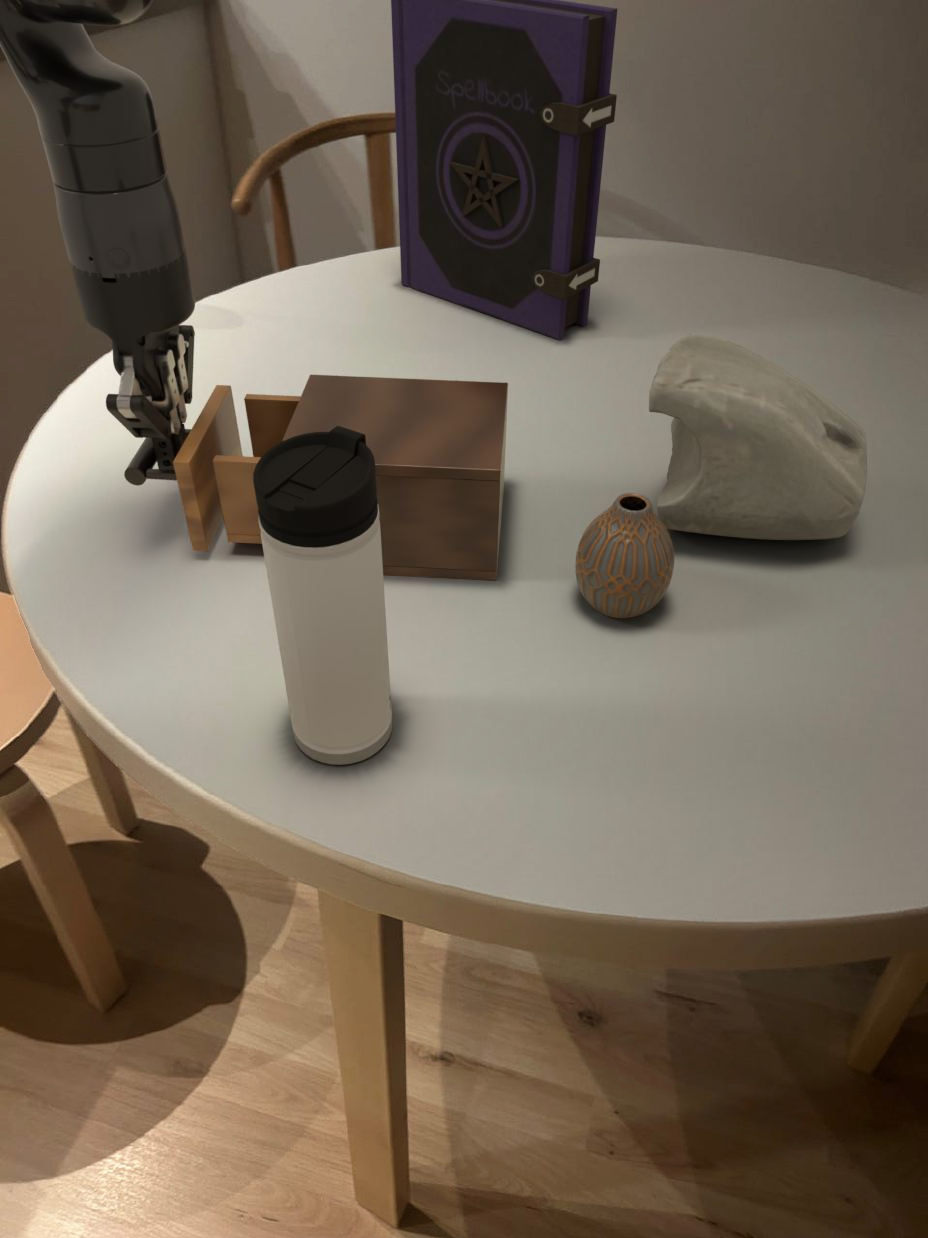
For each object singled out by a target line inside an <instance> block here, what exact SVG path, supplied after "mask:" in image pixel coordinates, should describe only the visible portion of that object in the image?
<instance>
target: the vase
mask: <svg viewBox="0 0 928 1238" xmlns="http://www.w3.org/2000/svg"><path fill="white" fill-rule="evenodd" d="M674 568H675V550H674V544H673V541H672V538H671V535H670V533H669V531H668V529H666V527H665V526H664V524H663V523H662V522H661V520H660V518H659V516H658V515H657V514H656V512H655V511H654V508H653V505H652V503H651V501H650V499H649V498H648V497H647V496H645V495H643V494H640V493H636V492H627V493H623V494H620V495H619V496H617V497H616V498H615V500H614V501H613V503H612V504H611V506H609V507H608V508H606V510H604V511H602V512H601V513H600V514H598V515H597V516H596V517H595V518H594V519H593V520H592V521H591V522H590V523H589V524H588V526H587V527H586V528H585V530H584V532H583V533H582V536H581V538H580V540H579V543H578V546H577V549H576V555H575V577H576V582H577V585H578V589H579V591H580V593H581V595H582V597H583V598H584V599H585V601H586V602H587V603H588V604H589V605H590V606H591V607H592V608H593V609H595V610H596V611H597V612H599V613H601V614H603V615H605V616H607V617H609V618H613V619H631V618H635V617H638V616H641V615H644V614H645V613H647V612H648V611H650V610H651V609H653V608H654V607H655V606H657V604H658V603H659V602H660V601H661V600H662V598H663V597H664V595H665V594H666V593H667V590H668V588H669V587H670V584H671V580H672V577H673V573H674V570H675V569H674Z"/></svg>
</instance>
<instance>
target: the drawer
mask: <svg viewBox="0 0 928 1238" xmlns="http://www.w3.org/2000/svg"><path fill="white" fill-rule="evenodd" d="M300 398H301V395H281V394H280V395H279V394H256V393H246V394H245V395H244V398H243V400H244V406H245V412H246V413H245V414H246V419H247V425H248V432H249V438H250V445H251V449H252V450H251V451H252V456H245V455H244V454H243V450H242V449H243V447H242V443H241V437H240V432H239V426H238V425H239V424H238V419H237V413H236V408H235V402H234V401H235V400H234V396H233V390H232V385H230V384H229V385H227V384H216V385H215V387H214V388H213V391H212V392H211V394H210V396H209V398H208V399H207V401H206V403H205V405H204V407H203V408H202V410H201V412H200V414H199V415H198V417H197V418H196V420H195V422H194V424H193V425H192V428H185V431H186V436H187V438H186V440H185V442H184V443H183V445H182V447H181V449H180V450H179V452H178V454H177V456H176V457H175V459H174V461H173V464H174V469H175V470H165V469H159V468H154V467H155V465H156V464H157V459H156V456H155V451H154V447H153V443H152V439H151V438H147V437H144V440H143V442H142V443H141V445H140V446H139V448H138V449H137V451H136V453H135V454H134V455H133V457H132V459H131V461H130V462H129V463H128V466H127V467H126V469H125V470H124V473H123V475H124V479H125V480H126V481H127V482H128V483H129V484H130V485H133V486H137V487H138V486H142V485H144V484H145V483H146V481H147V480H161V481H176V482H177V487H178V491H179V495H180V500H181V504H182V509H183V513H184V517H185V521H186V526H187V531H188V534H189V535H188V536H189V539H190V544H191V549H192V551H198V552H199V551H200V552H208V551H209V549H210V547H211V545H212V543H213V541H214V538H215V536H216V534H217V532H218V530H219V528H220V525H221V523H222V520H223V522H224V528H225V530H226V538H227V542H228V543H239V544H259V545H262V539H261V529H260V527H259V514H258V505H257V502H256V495H255V489H254V483H253V473H254V470H255V466H256V465H257V463H258V462H259V460H260V458H261V457H262V456H263V455H264V454H265V453H266V452H267V451H268V450H270V449H271V448H272V447H274V446H275V445H277V444H279V443H281V442H282V441H283V438H284V436H285V433H286V431H287V429H288V426H289V424H290V421H291V419H292V417H293V414H294V412H295V410H296V407H297V405H298V402H299V400H300Z"/></svg>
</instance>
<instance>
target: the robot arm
mask: <svg viewBox="0 0 928 1238" xmlns="http://www.w3.org/2000/svg"><path fill="white" fill-rule="evenodd" d="M153 2H154V0H0V48H1V51H2V52H3V54H4V56H5V58H6V60H7V62H8V64H9V66H10V68H11V70H12V72H13V75H14V76H15V77H16V79H17V82H18V84H19V85H20V87H21V88H22V89H21V90H23V92H24V94H25V95H26V98H27V99H28V101H29V103H30V105H31V107H32V110H33V112H34V114H35V118H36V121H37V126H38V131H39V134H40V139H41V142H42V146H43V149H44V152H45V156H46V160H47V164H48V167H49V172H50V175H51V176H50V177H51V180H52V184H53V190H54V195H55V202H56V211H57V217H58V222H59V226H60V230H61V235H62V239H63V242H64V246H65V249H66V254H67V257H68V262H69V264H70V269H71V273H72V277H73V280H74V284H75V287H76V288H75V289H76V291H77V296H78V299H79V303H80V307H81V310H82V314H83V317H84V319H85V321H86V322H87V324H88V325H89V326H91V328H93V329H95V330H97V331H99V332H101V333H103V334H104V335H106V336H107V337H108V338H109V339H110V341H111V347H112V362H113V368H114V370H115V371H116V373H117V374H118V376H120V381H119V386H118V393H108V394H107V395H106V397H105V407H106V409H107V411H108V412H109V413H110V414H111V415H112V416H113V417H114V419H116V420H117V421H118V422H119V423H120V424H121V425H122V426H123V427H124V428H125V429H126V431H128V432H129V433H130V434H131V435H132V436H133V437H134V438H135V439H136V438H137V439H143V438H146V437H147V438H151V439H152V443H153V447H154V451H155V456H156V459H157V462H156V464H157V469H165V470H175V469H174V464H173V461H174V459H175V457H176V456H177V454H178V452H179V450H180V449H181V447H182V445H183V443H184V442H185V440H186V438H187V436H186V431H185V429H186V426H185V423H186V422H187V418H188V412H187V406H186V405H190V404H192V402H193V401H192V400H193V383H194V381H193V380H194V357H195V356H194V355H195V335H196V332H195V329H194V326H193V325H192V324H191V325H190V324H183V323H184V322H186V321H187V320H188V319H189V318H190V317H191V316H192V315H193V313H194V311H195V308H196V300H195V295H194V287H193V283H192V278H191V273H190V267H189V262H188V261H189V260H188V255H187V250H186V245H185V241H184V235H183V229H182V223H181V218H180V214H179V213H180V212H179V209H178V206H177V201H176V198H175V195H174V192H173V189H172V186H171V182H170V180H169V179H170V178H169V174H168V171H167V165H166V160H165V159H166V158H165V152H164V148H163V142H162V137H161V132H160V127H159V122H158V116H157V112H156V107H155V103H154V100H153V96H152V92H151V90H150V88H149V86H148V84H147V83H146V81H145V80H144V78H142V77H141V76H140V75H139V74H138V73H136V72H134V71H133V70H131V69H129V68H127V67H124V66H122V65H120V64H118V63H115V62H113V61H111V60H110V59H108V58H107V57H105V56H103V55H102V54H101V53H100V52H99V51H98V50H97V49H96V48H95V46H94V44H93V42H92V40H91V39H90V37H89V36H90V35H89V34H88V32H87V31H86V29H85V27H84V25H89V26H96V27H97V26H98V27H119V26H120V27H121V26H126V25H129V24H132V23H134V22H136V21H138V20H139V19H141V18H142V17H143V16H144V15H145V14H146V13H147V12H148V11H149V9H150V7H151V6H152V4H153Z"/></svg>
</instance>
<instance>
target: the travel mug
mask: <svg viewBox="0 0 928 1238" xmlns="http://www.w3.org/2000/svg"><path fill="white" fill-rule="evenodd" d="M253 483H254V489H255V495H256V502H257V505H258V514H259V527H260V529H261V539H262V544H261V545H262V550H263V557H264V562H265V570H266V575H267V581H268V587H269V593H270V600H271V604H272V612H273V616H274V618H273V619H274V624H275V630H276V636H277V642H278V647H279V648H278V649H279V654H280V660H281V666H282V671H283V672H282V673H283V678H284V685H285V690H286V697H287V698H286V699H287V703H288V708H289V715H290V719H291V728H292V734H293V737H294V742H295V743H296V745H297V746H298V748H299V750H301V752H303V754H305V755H306V756H307V757H309V758H311V759H312V760H315V761H317V762H319V763H323V764H327V765H336V766H337V765H339V766H342V765H351V764H355V763H358V762H362V761H364V760H366V759H369V758H370V757H372V756H373V755H375V754H377V753H378V752H379V751H380V750H381V749H382V748H383V747H384V746H385V745H386V743H387V742H388V740H389V739H390V737H391V734H392V732H393V731H392V730H393V712H392V711H393V710H392V695H391V693H392V691H391V679H390V677H391V676H390V662H389V661H390V660H389V647H388V645H389V643H388V631H387V629H388V628H387V613H386V600H385V599H386V598H385V597H386V595H385V584H384V583H385V581H384V575H383V564H382V548H381V532H380V521H379V517H380V515H379V506H378V502H377V485H376V469H375V460H374V456H373V454H372V452H371V450H370V449H369V448H368V447H367V446H366V437H365V434H362V433H359V432H356V431H353V430H350V429H347V428H344V427H341V426H336V427H335V428H333V429H332V430H331V431H330V432H313V433H306V434H302V435H298V436H294V437H292V438H289V439H287V440H284V441H282V442H281V443H279V444H277V445H275V446H274V447H272V448H271V449H270V450H268V451H267V452H266V453H265V454H264V455H263V456H262V457H261V458H260V460H259V462H258V463H257V465H256V466H255V470H254V473H253Z"/></svg>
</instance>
